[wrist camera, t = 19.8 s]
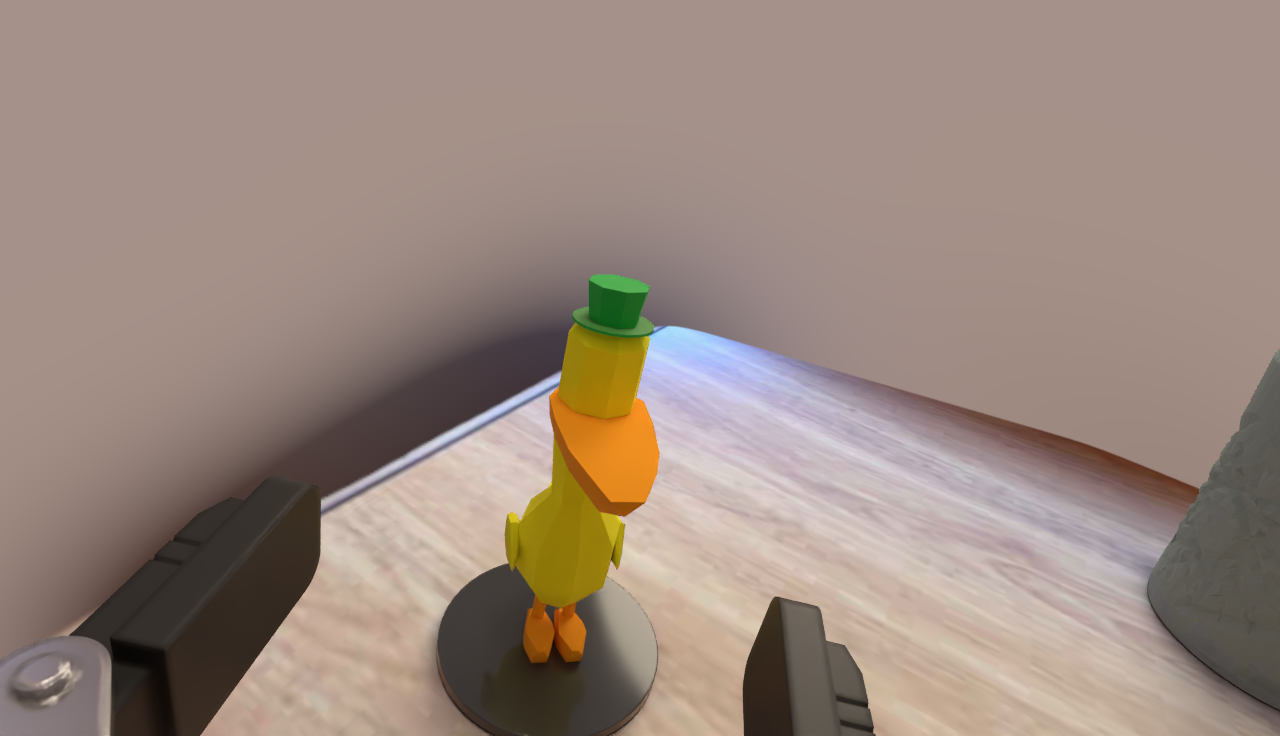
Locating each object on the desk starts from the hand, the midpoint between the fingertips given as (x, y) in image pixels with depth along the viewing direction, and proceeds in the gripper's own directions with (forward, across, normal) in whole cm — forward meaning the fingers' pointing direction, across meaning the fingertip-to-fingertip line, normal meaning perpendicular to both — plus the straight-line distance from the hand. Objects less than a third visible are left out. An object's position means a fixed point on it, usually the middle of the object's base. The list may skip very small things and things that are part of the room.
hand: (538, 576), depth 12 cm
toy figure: (+7, 0, +9) cm, 11 cm away
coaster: (+7, 0, +10) cm, 12 cm away
